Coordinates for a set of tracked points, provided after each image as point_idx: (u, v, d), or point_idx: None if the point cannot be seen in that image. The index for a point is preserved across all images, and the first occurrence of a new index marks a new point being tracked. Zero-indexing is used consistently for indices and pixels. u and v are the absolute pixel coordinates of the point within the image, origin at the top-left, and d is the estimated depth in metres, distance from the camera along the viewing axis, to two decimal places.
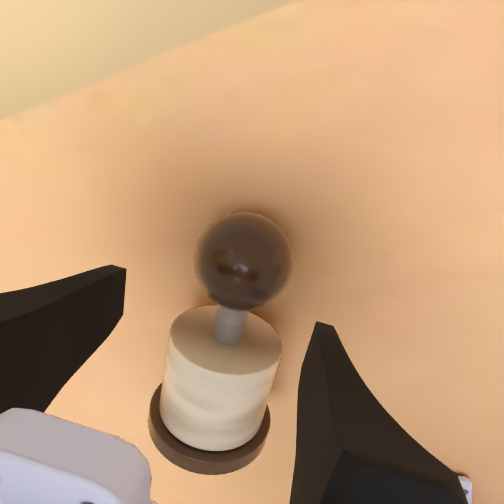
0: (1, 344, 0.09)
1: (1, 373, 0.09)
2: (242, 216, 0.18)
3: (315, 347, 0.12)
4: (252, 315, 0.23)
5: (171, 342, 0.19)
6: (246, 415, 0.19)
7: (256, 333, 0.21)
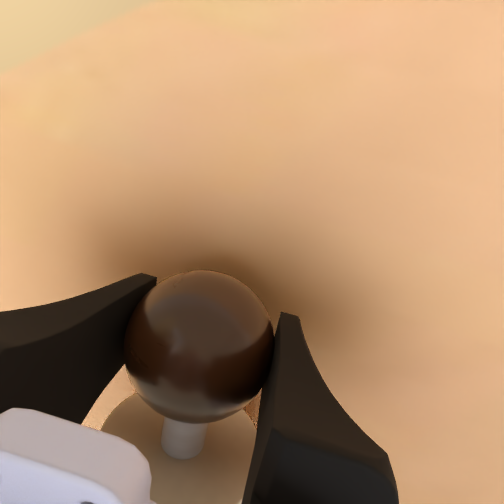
0: (49, 358, 0.09)
1: (48, 387, 0.09)
2: (194, 283, 0.11)
3: (276, 336, 0.12)
4: None
5: None
6: None
7: (225, 432, 0.15)
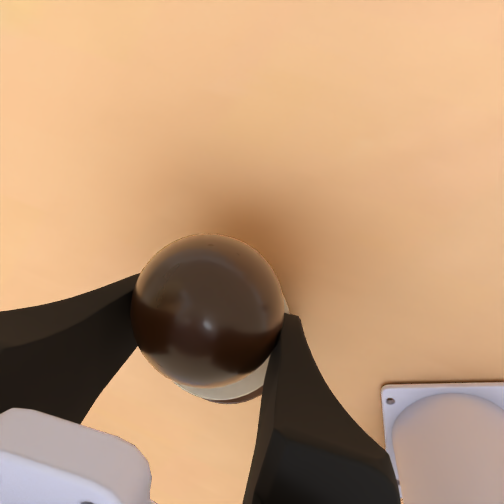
0: (48, 358, 0.09)
1: (47, 387, 0.09)
2: (177, 304, 0.10)
3: None
4: None
5: None
6: None
7: None
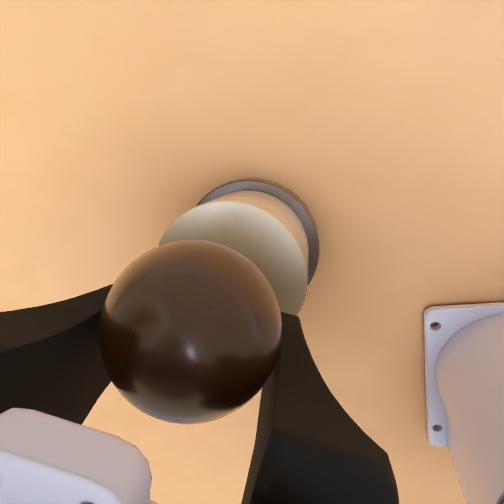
0: (50, 359, 0.09)
1: (48, 388, 0.09)
2: (139, 382, 0.08)
3: None
4: (266, 219, 0.14)
5: None
6: None
7: (269, 266, 0.14)
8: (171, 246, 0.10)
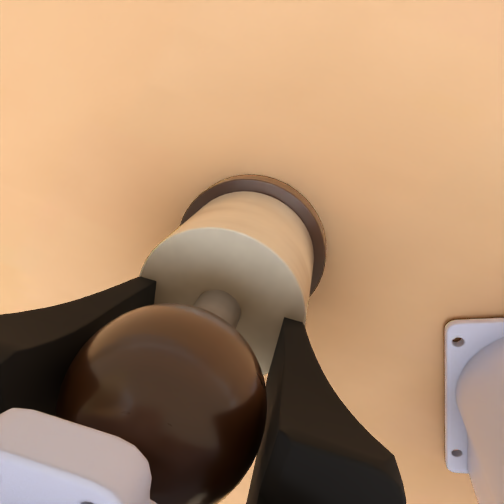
0: (57, 361, 0.09)
1: (55, 390, 0.09)
2: None
3: (280, 337, 0.12)
4: (258, 248, 0.12)
5: None
6: None
7: (263, 299, 0.13)
8: (131, 328, 0.08)
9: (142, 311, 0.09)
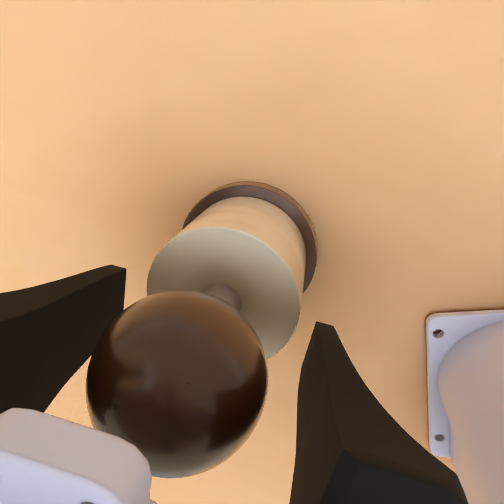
0: (1, 344, 0.09)
1: (1, 373, 0.09)
2: None
3: (315, 347, 0.12)
4: (257, 245, 0.14)
5: None
6: None
7: (262, 291, 0.14)
8: (152, 307, 0.10)
9: (160, 295, 0.10)
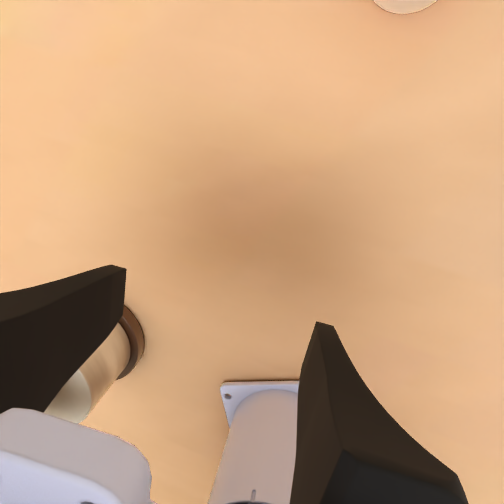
0: (1, 344, 0.09)
1: (1, 373, 0.09)
2: None
3: (315, 347, 0.12)
4: None
5: None
6: None
7: (67, 383, 0.23)
8: None
9: None
